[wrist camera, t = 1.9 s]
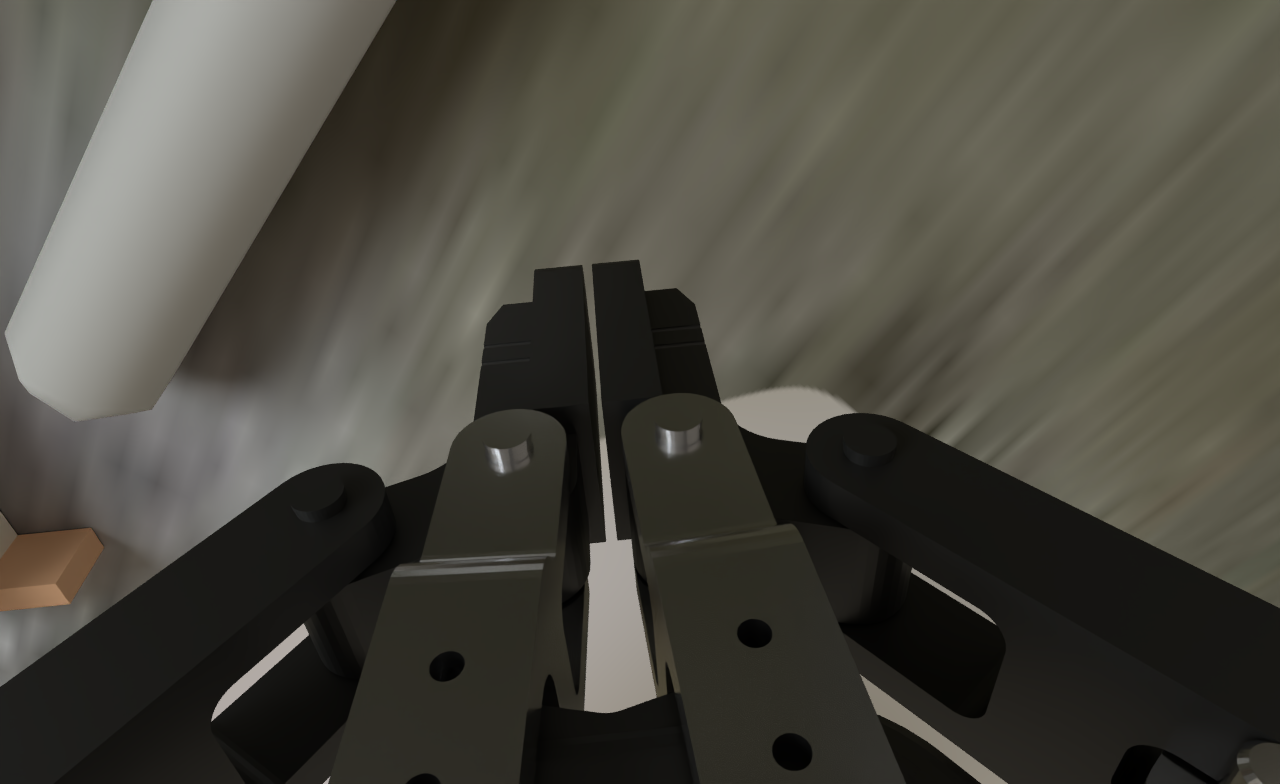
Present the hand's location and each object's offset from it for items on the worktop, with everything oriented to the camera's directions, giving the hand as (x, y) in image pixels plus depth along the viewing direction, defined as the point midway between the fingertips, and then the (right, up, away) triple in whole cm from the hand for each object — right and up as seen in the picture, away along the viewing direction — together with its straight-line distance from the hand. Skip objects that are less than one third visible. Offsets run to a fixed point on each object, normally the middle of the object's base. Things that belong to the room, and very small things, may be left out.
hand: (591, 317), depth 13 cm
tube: (-11, +9, +12) cm, 18 cm away
